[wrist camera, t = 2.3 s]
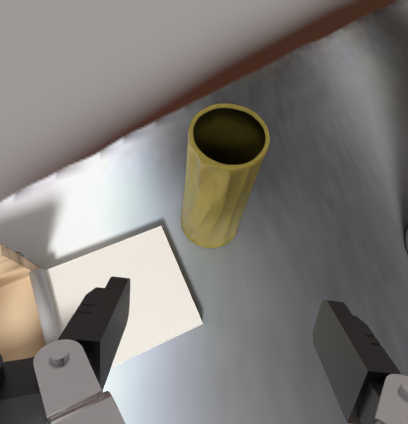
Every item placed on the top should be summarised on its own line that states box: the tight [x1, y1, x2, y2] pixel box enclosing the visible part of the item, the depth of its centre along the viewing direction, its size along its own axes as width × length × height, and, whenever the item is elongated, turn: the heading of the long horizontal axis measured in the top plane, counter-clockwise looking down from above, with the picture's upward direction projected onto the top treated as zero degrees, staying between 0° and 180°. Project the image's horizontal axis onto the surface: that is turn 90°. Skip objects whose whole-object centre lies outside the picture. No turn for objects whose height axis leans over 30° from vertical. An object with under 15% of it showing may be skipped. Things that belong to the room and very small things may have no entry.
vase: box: [181, 103, 270, 248], centre depth 26 cm, size 6×6×14 cm
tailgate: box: [29, 226, 203, 368], centre depth 27 cm, size 12×10×2 cm
